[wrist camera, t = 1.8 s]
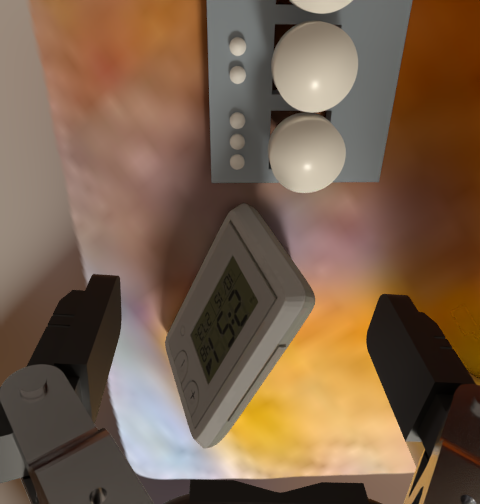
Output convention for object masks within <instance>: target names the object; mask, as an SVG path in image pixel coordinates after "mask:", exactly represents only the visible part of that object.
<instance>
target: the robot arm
mask: <svg viewBox="0 0 480 504" xmlns="http://www.w3.org/2000/svg"><path fill="white" fill-rule="evenodd" d="M120 329H121V291H120V277H119V276H114V275H98V274H93V275H92V276H91V279H90V281H89V283H88V286H87V288H86V290H85V291H81V290H72V291H71V292H70V293H68V294H67V295H66V296H65V297H63V298H62V299H61V300H60V301H59V303H58V305H57V307H56V309H55V311H54V313H53V316H52V317H51V319H50V321H49V323H48V327H46V329H45V331H44V333H43V335H42V337H41V339H40V341H39V343H38V345H37V347H36V349H35V351H34V353H33V355H32V357H31V359H30V361H29V363H28V365H27V366H26V367H25V368H22V369H20V370H18V371H16V372H15V373H13V374H12V375H10V376H9V377H8V378H7V379H6V380H5V381H4V383H3V384H2V386H1V387H0V483H3V482H7V481H10V480H14V479H18V478H21V480H22V483H23V485H24V488H25V490H26V493H27V495H28V497H29V500H30V502H31V504H154V503H153V501H152V499H151V498H150V496H149V495H148V493H147V492H146V490H145V488H144V487H143V485H142V483H141V482H140V480H139V479H138V477H137V476H136V474H135V472H134V471H133V469H132V468H131V466H130V464H129V463H128V461H127V460H126V458H125V456H124V455H123V453H122V452H121V450H120V449H119V447H118V445H117V444H116V443H115V440H114V439H113V437H112V436H111V434H110V433H109V432H108V431H107V430H106V429H105V428H102V429H100V430H98V428H97V427H96V426H95V421H96V418H97V414H98V411H99V407H100V403H101V400H102V396H103V393H104V389H105V385H106V382H107V379H108V375H109V371H110V368H111V364H112V361H113V357H114V353H115V350H116V346H117V343H118V339H119V335H120ZM366 340H367V349H368V352H369V354H370V357H371V359H372V362H373V364H374V366H375V369H376V371H377V374H378V376H379V379H380V381H381V383H382V386H383V388H384V391H385V393H386V395H387V398H388V400H389V403H390V405H391V408H392V410H393V412H394V415H395V417H396V420H397V422H398V424H399V427H400V430H401V432H402V434H403V437H404V439H405V441H406V443H407V446H408V448H409V451H410V453H411V456H412V458H413V460H414V463H415V465H416V471H415V473H414V476H413V479H412V482H411V485H410V488H409V490H408V493H407V496H406V498H405V501H404V504H480V378H477V377H475V376H474V375H472V374H471V373H469V372H468V371H467V369H466V368H465V366H464V365H463V363H462V362H461V360H460V359H459V357H458V355H457V354H456V352H455V351H454V349H452V346H451V345H450V343H449V342H448V340H447V339H445V336H444V334H443V332H442V331H441V329H440V328H439V326H438V325H437V324H436V323H435V322H434V321H433V320H432V319H431V318H429V317H428V316H427V315H426V314H425V313H423V312H418V310H417V309H416V307H415V305H414V304H413V302H412V301H411V299H410V298H409V297H408V296H407V295H392V294H382V295H381V296H380V298H379V300H378V303H377V305H376V308H375V311H374V314H373V317H372V320H371V323H370V325H369V328H368V331H367V339H366ZM163 504H381V503H379V502H377V501H374V500H372V499H368V497H367V494H366V491H365V487H364V484H363V483H327V482H325V483H323V482H322V483H318V484H314V485H310V486H306V487H302V488H299V489H295V490H291V491H288V492H283V493H278V492H274V491H270V490H266V489H263V488H259V487H256V486H252V485H249V484H245V483H241V482H238V481H234V480H190V491H189V494H186V495H182V496H179V497H176V498H174V499H172V500H169V501H167V502H165V503H163Z"/></svg>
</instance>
